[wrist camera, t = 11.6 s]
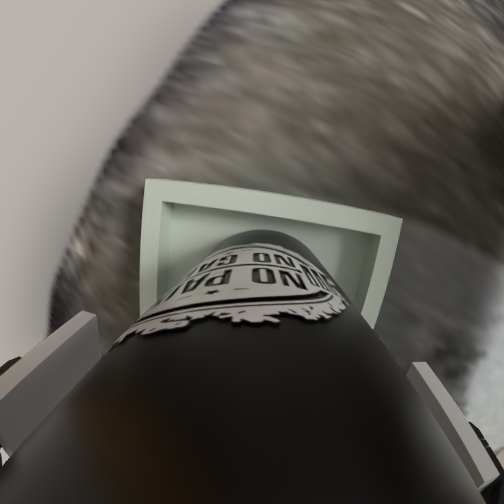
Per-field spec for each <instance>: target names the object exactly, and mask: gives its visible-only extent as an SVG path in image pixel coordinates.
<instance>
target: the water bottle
mask: <svg viewBox="0 0 504 504" xmlns="http://www.w3.org/2000/svg"><path fill="white" fill-rule="evenodd" d="M158 301H159V302H158ZM158 301H157V302H158V303H157V302H156V303H157V304H156V303H154V304H153V305H152V306H151V307H150V308H149V309H148V310H147V311H146V312H145V313H144V314H143V315H142V316H141V317H140V318H139V319H140V320H139V319H138V320H137V321H136V322H137V323H136V322H135V323H136V324H135V323H134V325H132V326H131V327H130V328H129V329H127V330H126V331H125V332H124V333H123V334H122V335H121V336H120V337H119V338H118V339H117V340H116V341H115V342H114V343H113V344H112V346H113V347H112V348H111V349H110V350H109V351H108V352H107V353H106V354H105V355H104V356H103V357H102V358H101V359H100V361H99V362H98V363H97V364H96V365H95V366H94V367H93V368H92V369H91V370H90V371H89V372H88V373H87V374H86V375H85V376H84V377H83V378H82V379H81V380H80V381H79V382H78V383H77V384H76V385H75V386H74V387H73V388H72V390H71V391H70V392H69V393H68V394H67V395H66V396H65V397H64V398H63V399H62V400H61V401H60V402H59V403H58V404H57V405H56V407H55V408H54V409H53V410H52V411H51V412H50V413H49V414H48V415H47V416H46V417H45V418H44V420H43V421H42V422H41V423H40V424H39V425H38V426H37V427H36V428H35V429H34V430H33V432H32V433H31V434H30V435H29V436H28V437H27V438H26V439H25V441H24V442H23V443H22V444H21V445H20V446H19V447H18V448H17V450H16V451H15V452H14V453H13V454H12V455H11V456H10V458H9V459H8V460H7V461H6V462H5V464H4V465H3V466H2V467H1V468H0V504H486V503H485V501H484V499H483V497H482V495H481V493H480V492H479V490H478V488H477V486H476V484H475V483H474V481H473V479H472V477H471V476H470V474H469V472H468V471H467V469H466V467H465V465H464V464H463V462H462V460H461V459H460V457H459V455H458V454H457V452H456V451H455V449H454V447H453V446H452V444H451V442H450V441H449V439H448V438H447V436H446V434H445V433H444V431H443V430H442V428H441V427H440V425H439V424H438V422H437V421H436V419H435V417H434V416H433V414H432V413H431V411H430V410H429V408H428V407H427V405H426V404H425V402H424V401H423V399H422V398H421V396H420V395H419V394H418V392H417V391H416V389H415V388H414V386H413V385H412V383H411V382H410V380H409V379H408V378H407V376H406V375H405V373H404V372H403V371H402V369H401V368H400V366H399V365H398V363H397V362H396V361H395V359H394V358H393V357H392V355H391V354H390V352H389V351H388V350H387V348H386V347H385V346H384V344H383V343H382V341H381V340H380V339H379V337H378V336H377V335H376V333H375V332H374V331H373V329H372V328H371V327H370V325H369V324H368V323H367V321H366V320H365V319H364V317H363V316H362V315H361V313H360V312H359V311H358V310H357V308H356V307H355V306H354V304H353V303H352V302H351V300H350V299H349V298H348V297H347V295H346V294H345V293H344V291H343V290H342V289H341V288H340V286H339V285H338V284H337V283H336V281H335V280H334V279H333V278H332V276H331V275H330V274H329V273H328V271H327V270H326V269H325V268H324V266H323V265H322V264H321V263H320V261H319V260H318V259H317V258H316V256H315V255H314V254H313V253H312V252H311V250H310V249H309V248H308V247H306V246H305V245H304V244H303V243H302V242H300V241H299V240H297V239H295V238H294V237H292V236H290V235H287V234H285V233H282V232H278V231H273V230H250V231H245V232H241V233H238V234H236V235H234V236H231V237H229V238H228V239H226V240H224V241H223V242H222V243H220V244H219V245H218V246H217V247H216V248H215V249H214V250H212V251H211V252H210V253H209V254H208V255H207V256H206V257H205V258H204V259H203V260H202V261H201V262H200V263H198V264H197V265H196V266H194V267H193V269H192V270H191V271H188V272H187V273H186V275H184V276H183V277H182V279H181V280H180V282H179V283H178V284H175V285H174V286H172V287H171V288H170V289H169V290H168V291H167V292H166V293H165V294H164V295H163V297H162V298H160V299H159V300H158ZM155 304H156V305H155ZM154 305H155V306H154ZM153 306H154V307H153ZM152 307H153V308H152ZM151 308H152V309H151ZM108 349H109V348H108ZM108 349H107V350H108ZM107 350H106V351H107ZM106 351H105V352H106Z"/></svg>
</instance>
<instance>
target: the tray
mask: <svg viewBox="0 0 504 504" xmlns="http://www.w3.org/2000/svg"><path fill="white" fill-rule="evenodd" d="M402 220H403V219H402V218H399V217H395V216H392V215H389V214H385V213H381V212H376V211H372V210H367V209H363V208H358V207H353V206H348V205H343V204H338V203H333V202H327V201H322V200H316V199H311V198H305V197H299V196H293V195H287V194H281V193H275V192H268V191H262V190H255V189H248V188H240V187H233V186H225V185H217V184H209V183H200V182H191V181H181V180H171V179H146V181H145V191H144V201H143V213H142V228H141V247H140V317H141V316H142V315H143V314H144V313H145V312H146V311H147V310H148V309H149V308H150V307H151V306H152V305H153V304H154V303H156V302H157V301H158V300H159V299H160V298H162V297H163V295H164V294H165V293H166V292H167V291H168V290H169V289H170V288H171V287H172V286H174V285H175V284H178V283H179V282H180V280H181V279H182V277H183V276H184V275H186V273H187V272H188V271H191V270H192V269H193V267H194V266H196V265H197V264H198V263H200V262H201V261H202V260H203V259H204V258H205V257H206V256H207V255H208V254H209V253H210V252H211V251H212V250H214V249H215V248H216V247H217V246H218V245H219V244H220V243H222V242H223V241H224V240H226V239H228V238H229V237H231V236H234V235H236V234H238V233H241V232H245V231H250V230H273V231H278V232H282V233H285V234H287V235H290V236H292V237H294V238H295V239H297V240H299V241H300V242H302V243H303V244H304V245H305V246H306V247H308V248H309V249H310V250H311V252H312V253H313V254H314V255H315V256H316V258H317V259H318V260H319V261H320V263H321V264H322V265H323V266H324V268H325V269H326V270H327V271H328V273H329V274H330V275H331V276H332V278H333V279H334V280H335V281H336V283H337V284H338V285H339V286H340V288H341V289H342V290H343V291H344V293H345V294H346V295H347V297H348V298H349V299H350V300H351V302H352V303H353V304H354V306H355V307H356V308H357V310H358V311H359V312H360V313H361V315H362V316H363V317H364V319H365V320H366V321H367V323H368V324H369V325H370V327H371V328H372V329H374V326H375V323H376V320H377V317H378V314H379V311H380V308H381V305H382V301H383V298H384V295H385V291H386V288H387V284H388V280H389V277H390V273H391V269H392V265H393V261H394V257H395V253H396V249H397V244H398V240H399V235H400V230H401V226H402ZM158 302H159V301H158ZM158 302H157V303H158ZM157 303H156V304H157ZM156 304H155V305H156ZM155 305H154V306H155ZM154 306H153V307H154ZM153 307H152V308H153ZM152 308H151V309H152Z"/></svg>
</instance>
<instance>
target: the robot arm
mask: <svg viewBox="0 0 504 504" xmlns="http://www.w3.org/2000/svg"><path fill="white" fill-rule="evenodd" d="M101 358H102V354H101V347H100V340H99V333H98V324H97V315H95V314H92V313H89V312H86V311H83V310H82V311H81V312H79V313H78V314H77V315H76V316H74V317H73V318H72V319H70V320H69V321H68V322H66V323H65V324H64V325H62V326H61V327H60V328H59V329H57V330H56V331H55V332H53V333H52V334H51V335H50V336H48V337H47V338H46V339H45V340H43V341H42V342H41V343H40V344H38V345H37V346H36V347H35V348H34V349H32V350H31V351H30V352H28V353H27V354H26V355H25V356H24V357H22V358H21V357H17V358H14V359H12V360H9V361H8V362H6V363H5V364H4V365H3V366H1V367H0V448H1V447H2V448H3V449H4V450H5V452H6V453H7V454H8V456H9V457H10V456H11V455H12V454H13V453H14V452H15V451H16V450H17V448H18V447H19V446H20V445H21V444H22V443H23V442H24V441H25V439H26V438H27V437H28V436H29V435H30V434H31V433H32V432H33V430H34V429H35V428H36V427H37V426H38V425H39V424H40V423H41V422H42V421H43V420H44V418H45V417H46V416H47V415H48V414H49V413H50V412H51V411H52V410H53V409H54V408H55V407H56V405H57V404H58V403H59V402H60V401H61V400H62V399H63V398H64V397H65V396H66V395H67V394H68V393H69V392H70V391H71V390H72V388H73V387H74V386H75V385H76V384H77V383H78V382H79V381H80V380H81V379H82V378H83V377H84V376H85V375H86V374H87V373H88V372H89V371H90V370H91V369H92V368H93V367H94V366H95V365H96V364H97V363H98V362H99V361H100V359H101ZM406 376H407V378H408V379H409V380H410V382H411V383H412V385H413V386H414V388H415V389H416V391H417V392H418V394H419V395H420V396H421V398H422V399H423V401H424V402H425V404H426V405H427V407H428V408H429V410H430V411H431V413H432V414H433V416H434V417H435V419H436V421H437V422H438V424H439V425H440V427H441V428H442V430H443V431H444V433H445V434H446V436H447V438H448V439H449V441H450V442H451V444H452V446H453V447H454V449H455V451H456V452H457V454H458V455H459V457H460V459H461V460H462V462H463V464H464V465H465V467H466V469H467V471H468V472H469V474H470V476H471V477H472V479H473V481H474V483H475V484H476V486H477V488H478V490H479V492H480V493H481V495H482V497H483V499H484V501H485V503H486V504H504V469H503V467H502V466H501V464H500V463H499V461H498V459H497V457H496V456H495V454H494V452H493V451H492V449H491V447H489V444H488V443H487V441H486V440H484V436H483V435H482V433H481V432H480V430H479V429H478V428H477V427H476V426H475V425H473V424H472V423H471V422H468V421H467V420H466V418H465V417H464V415H463V414H462V412H461V411H460V409H459V408H458V406H457V405H456V403H455V402H454V400H453V399H452V397H451V396H450V395H449V393H448V392H447V390H446V389H445V387H444V386H443V385H442V383H441V382H440V380H439V379H438V378H437V376H436V375H435V374H434V372H433V371H432V370H431V368H430V367H429V365H428V364H427V363H426V362H412V363H411V366H410V368H409V370H408V372H407V374H406ZM1 467H2V457H1V453H0V468H1Z"/></svg>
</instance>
